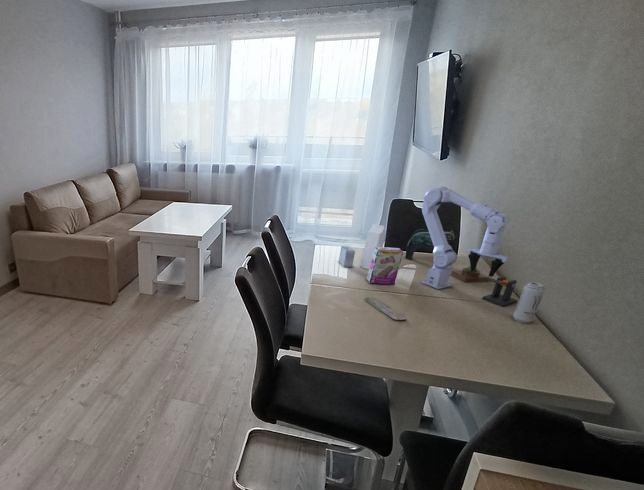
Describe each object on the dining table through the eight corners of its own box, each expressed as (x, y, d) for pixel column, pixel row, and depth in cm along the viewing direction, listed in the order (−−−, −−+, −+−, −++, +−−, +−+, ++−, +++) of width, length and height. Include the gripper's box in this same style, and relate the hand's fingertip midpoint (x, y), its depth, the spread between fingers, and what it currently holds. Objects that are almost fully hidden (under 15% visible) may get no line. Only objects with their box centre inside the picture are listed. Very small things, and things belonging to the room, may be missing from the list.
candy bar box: (369, 284, 187) (377, 249, 181) (366, 279, 192) (373, 246, 185) (395, 285, 186) (404, 251, 180) (391, 281, 191) (399, 247, 184)
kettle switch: (499, 286, 164) (502, 280, 164) (486, 281, 168) (489, 276, 168) (512, 288, 170) (515, 283, 169) (499, 284, 174) (502, 278, 173)
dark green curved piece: (446, 263, 215) (458, 226, 207) (446, 267, 210) (457, 229, 202) (404, 256, 225) (413, 220, 217) (403, 259, 220) (412, 222, 212)
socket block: (464, 282, 192) (466, 274, 191) (450, 274, 200) (453, 267, 199) (487, 281, 194) (490, 273, 192) (473, 274, 202) (476, 266, 200)
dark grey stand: (502, 306, 169) (510, 284, 165) (482, 298, 175) (489, 277, 171) (516, 302, 173) (524, 280, 169) (496, 295, 179) (503, 274, 175)
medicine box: (352, 267, 206) (355, 251, 203) (343, 267, 207) (346, 250, 203) (346, 262, 214) (349, 246, 210) (338, 261, 214) (341, 245, 210)
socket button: (470, 272, 194) (471, 269, 193) (464, 269, 197) (465, 266, 196) (478, 272, 194) (479, 269, 193) (472, 269, 198) (473, 266, 197)
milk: (371, 270, 203) (381, 227, 194) (360, 267, 207) (369, 224, 198) (377, 268, 206) (388, 225, 197) (366, 264, 211) (376, 222, 202)
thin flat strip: (373, 298, 174) (373, 296, 173) (407, 319, 155) (407, 317, 155) (362, 299, 173) (362, 297, 173) (395, 320, 154) (395, 318, 154)
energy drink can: (523, 324, 155) (538, 288, 149) (508, 317, 160) (522, 281, 154) (535, 322, 156) (551, 286, 150) (519, 315, 161) (534, 280, 155)
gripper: (516, 245, 164) (505, 277, 170) (478, 236, 176) (469, 266, 182) (506, 248, 162) (495, 280, 167) (468, 238, 174) (459, 268, 179)
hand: (481, 273), depth 174 cm, fingers open, 7 cm apart
